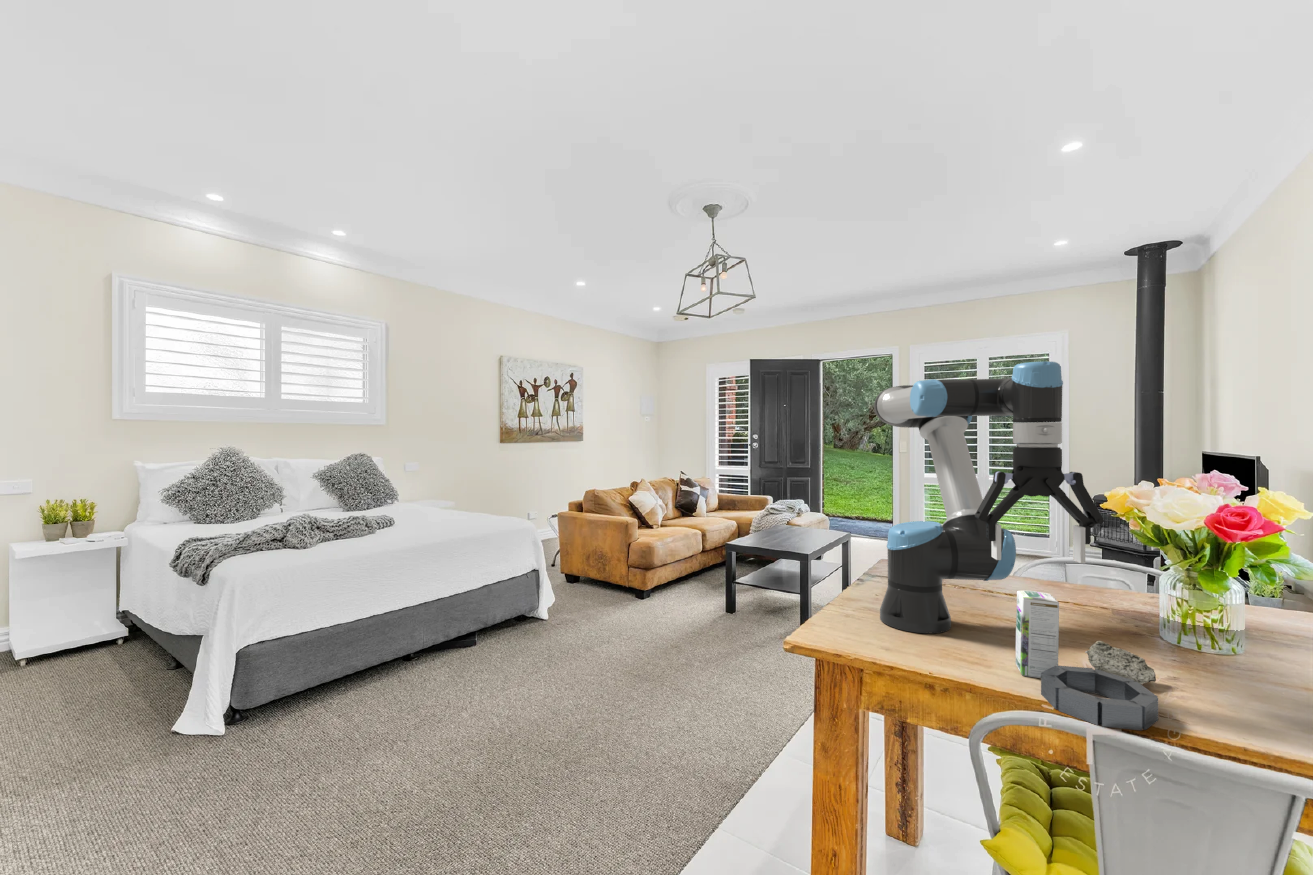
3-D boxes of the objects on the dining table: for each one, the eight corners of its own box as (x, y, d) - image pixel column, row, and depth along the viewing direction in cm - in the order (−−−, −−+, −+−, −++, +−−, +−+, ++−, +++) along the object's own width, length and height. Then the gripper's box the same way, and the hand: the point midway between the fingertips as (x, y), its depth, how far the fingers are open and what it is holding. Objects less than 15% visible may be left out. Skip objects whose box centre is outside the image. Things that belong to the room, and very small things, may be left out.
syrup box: (1014, 663, 107) (1014, 589, 106) (1051, 668, 104) (1051, 592, 104) (1021, 676, 101) (1021, 597, 101) (1060, 681, 99) (1060, 601, 99)
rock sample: (1087, 664, 97) (1105, 626, 100) (1071, 677, 103) (1089, 640, 106) (1158, 705, 91) (1175, 663, 94) (1137, 717, 97) (1154, 676, 100)
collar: (1069, 723, 85) (1069, 700, 85) (1029, 682, 99) (1029, 663, 99) (1177, 733, 82) (1177, 710, 82) (1121, 690, 95) (1121, 670, 95)
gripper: (969, 446, 101) (969, 561, 102) (1127, 446, 96) (1127, 568, 96) (956, 445, 109) (957, 552, 109) (1103, 445, 103) (1103, 558, 103)
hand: (1037, 560), depth 102 cm, fingers open, 13 cm apart
